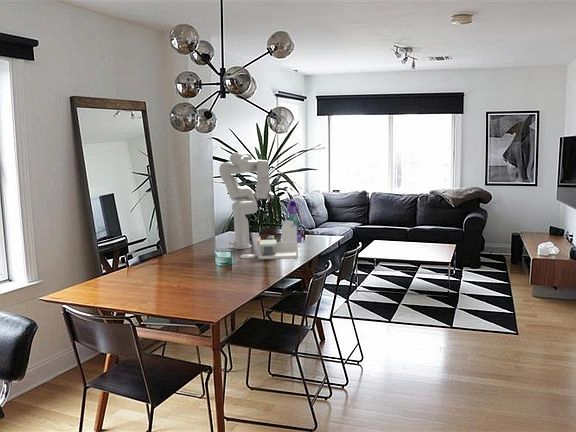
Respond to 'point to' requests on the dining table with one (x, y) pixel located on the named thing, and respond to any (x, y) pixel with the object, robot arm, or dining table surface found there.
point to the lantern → (294, 217)
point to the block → (268, 250)
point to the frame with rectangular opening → (281, 251)
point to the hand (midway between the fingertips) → (264, 207)
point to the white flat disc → (247, 256)
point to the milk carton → (289, 231)
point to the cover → (266, 242)
